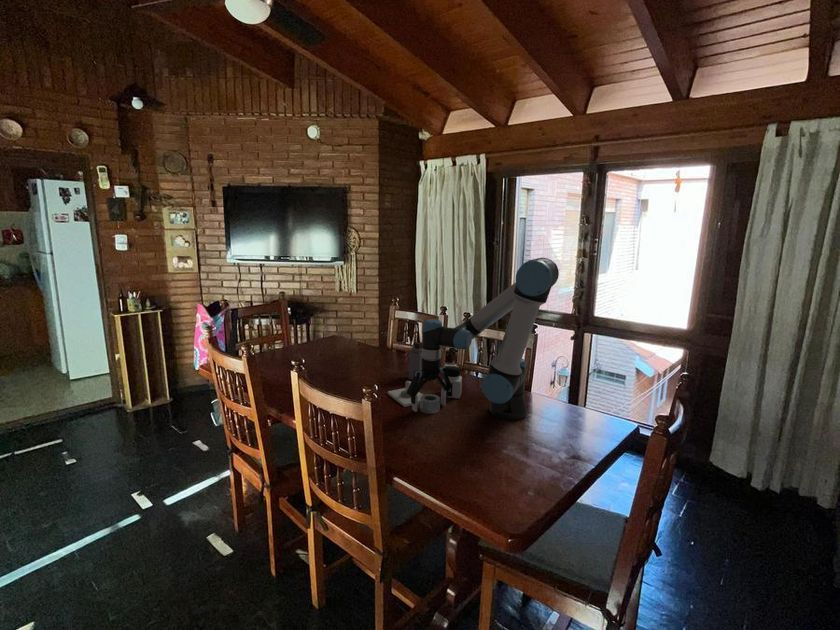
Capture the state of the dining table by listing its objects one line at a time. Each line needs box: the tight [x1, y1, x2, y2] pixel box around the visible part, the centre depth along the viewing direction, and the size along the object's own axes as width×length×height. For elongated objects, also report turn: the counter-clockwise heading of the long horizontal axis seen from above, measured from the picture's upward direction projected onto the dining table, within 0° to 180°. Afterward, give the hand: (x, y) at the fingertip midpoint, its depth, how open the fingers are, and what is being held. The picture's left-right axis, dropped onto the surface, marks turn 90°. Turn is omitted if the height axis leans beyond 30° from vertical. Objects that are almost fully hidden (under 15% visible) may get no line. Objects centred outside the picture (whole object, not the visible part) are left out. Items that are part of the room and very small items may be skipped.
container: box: [441, 365, 463, 399], centre depth 195 cm, size 8×8×13 cm
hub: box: [419, 393, 441, 415], centre depth 180 cm, size 8×8×5 cm
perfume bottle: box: [408, 341, 424, 382], centre depth 214 cm, size 7×7×18 cm
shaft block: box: [387, 380, 424, 408], centre depth 191 cm, size 16×12×7 cm
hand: (429, 407), depth 180 cm, fingers open, 13 cm apart
